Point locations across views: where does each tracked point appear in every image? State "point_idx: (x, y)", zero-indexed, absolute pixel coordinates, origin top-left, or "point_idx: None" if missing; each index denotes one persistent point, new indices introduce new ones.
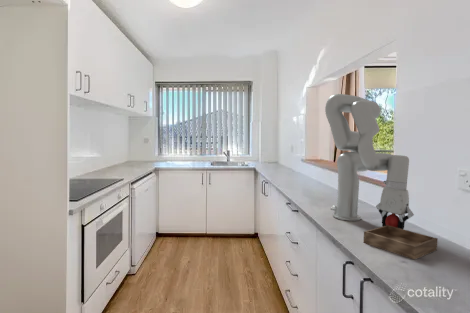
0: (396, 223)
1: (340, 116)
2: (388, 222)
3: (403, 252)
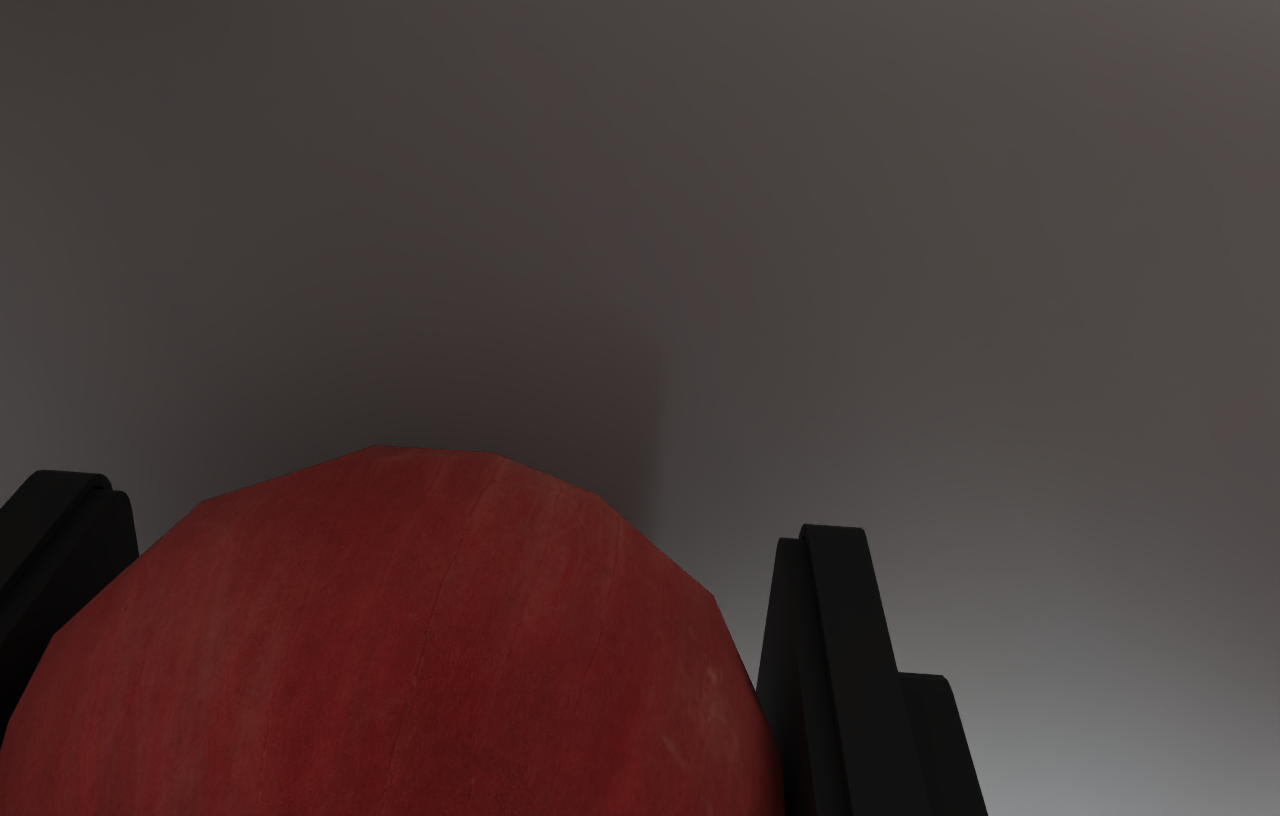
0: (38, 678)
1: None
2: (436, 545)
3: None
